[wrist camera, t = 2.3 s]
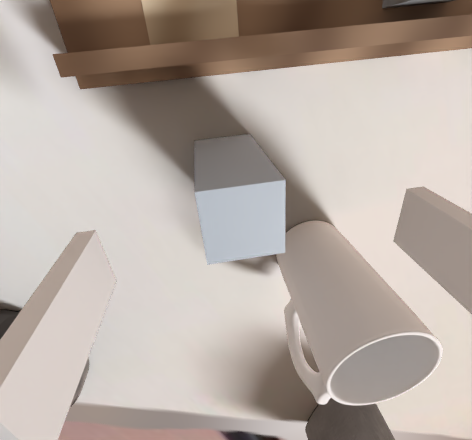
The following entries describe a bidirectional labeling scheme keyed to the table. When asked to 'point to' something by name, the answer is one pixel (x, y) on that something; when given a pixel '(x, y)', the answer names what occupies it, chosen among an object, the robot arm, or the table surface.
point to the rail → (245, 35)
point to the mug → (350, 322)
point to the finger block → (238, 199)
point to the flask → (347, 423)
